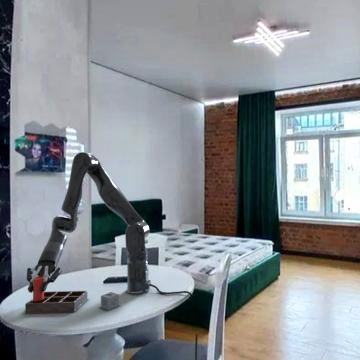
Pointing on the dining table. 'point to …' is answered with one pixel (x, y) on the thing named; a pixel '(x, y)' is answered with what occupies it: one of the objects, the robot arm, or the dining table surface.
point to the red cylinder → (37, 288)
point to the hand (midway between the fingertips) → (35, 291)
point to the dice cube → (109, 301)
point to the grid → (57, 302)
